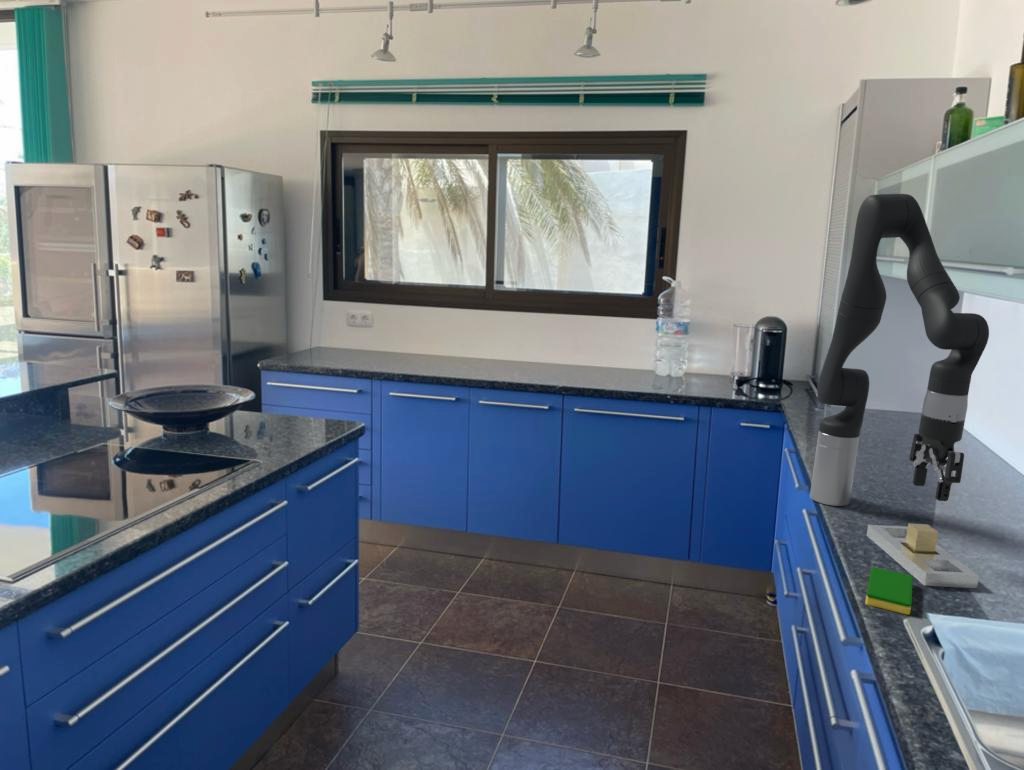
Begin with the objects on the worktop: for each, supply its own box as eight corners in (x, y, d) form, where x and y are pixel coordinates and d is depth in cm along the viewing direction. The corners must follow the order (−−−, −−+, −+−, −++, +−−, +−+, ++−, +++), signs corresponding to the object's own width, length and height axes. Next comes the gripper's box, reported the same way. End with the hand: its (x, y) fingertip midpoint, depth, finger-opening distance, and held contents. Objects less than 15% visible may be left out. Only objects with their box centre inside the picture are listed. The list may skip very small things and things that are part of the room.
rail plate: (866, 535, 167) (868, 524, 166) (911, 537, 167) (913, 527, 166) (924, 585, 143) (926, 573, 143) (977, 588, 143) (979, 575, 143)
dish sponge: (864, 606, 135) (866, 593, 134) (869, 577, 147) (871, 565, 146) (909, 617, 132) (911, 604, 131) (910, 586, 144) (913, 575, 143)
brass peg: (903, 555, 157) (908, 523, 156) (922, 556, 157) (927, 524, 156) (912, 563, 153) (918, 531, 152) (932, 564, 153) (938, 532, 152)
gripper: (905, 404, 156) (893, 479, 159) (944, 423, 142) (930, 504, 145) (942, 406, 156) (929, 481, 159) (984, 425, 142) (969, 506, 145)
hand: (929, 492), depth 152 cm, fingers open, 8 cm apart
